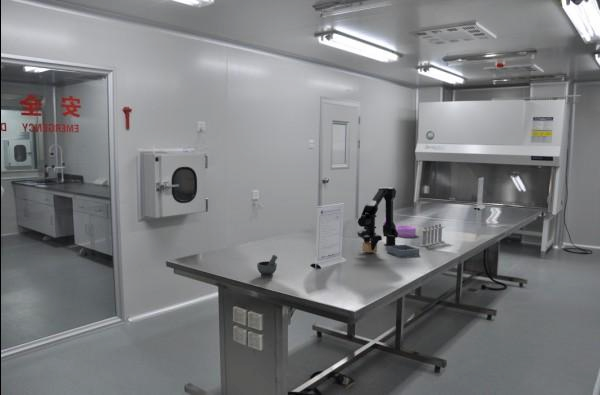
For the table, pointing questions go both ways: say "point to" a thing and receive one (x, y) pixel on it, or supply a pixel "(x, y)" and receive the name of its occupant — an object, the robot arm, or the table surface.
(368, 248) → the small crate
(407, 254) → the large crate
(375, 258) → the table surface
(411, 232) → the container set
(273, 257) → the mortar and pestle
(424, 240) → the test tube rack
